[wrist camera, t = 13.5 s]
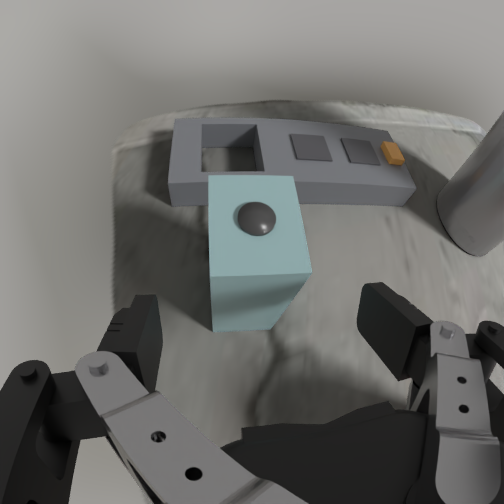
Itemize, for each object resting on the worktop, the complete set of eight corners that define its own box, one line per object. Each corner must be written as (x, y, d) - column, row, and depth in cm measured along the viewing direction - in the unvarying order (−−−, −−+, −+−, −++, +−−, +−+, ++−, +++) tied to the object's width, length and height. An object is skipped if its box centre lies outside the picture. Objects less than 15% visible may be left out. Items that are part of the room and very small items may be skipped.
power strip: (172, 206, 24) (166, 176, 21) (177, 142, 28) (174, 112, 25) (402, 206, 28) (420, 183, 24) (377, 149, 31) (390, 125, 28)
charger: (213, 332, 20) (209, 274, 11) (210, 265, 22) (208, 172, 13) (270, 329, 21) (313, 270, 12) (263, 264, 23) (294, 173, 14)
